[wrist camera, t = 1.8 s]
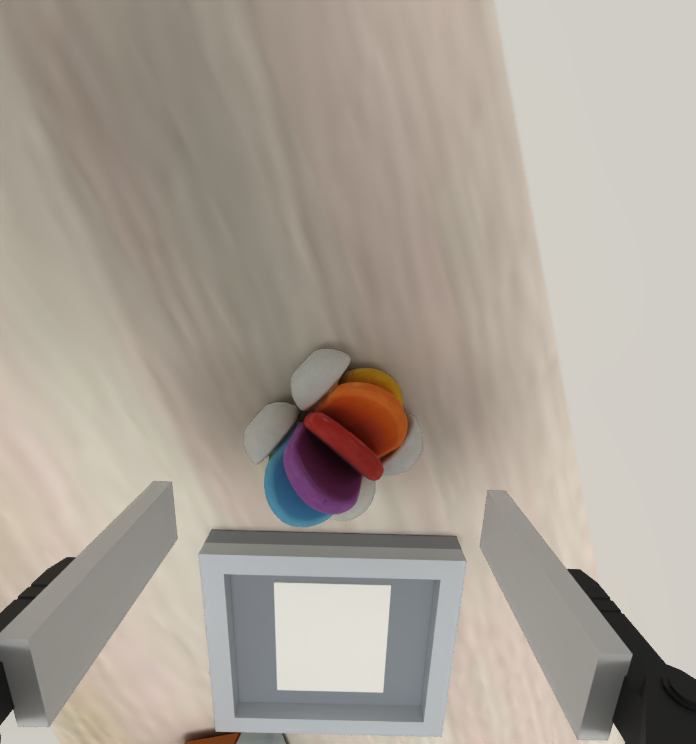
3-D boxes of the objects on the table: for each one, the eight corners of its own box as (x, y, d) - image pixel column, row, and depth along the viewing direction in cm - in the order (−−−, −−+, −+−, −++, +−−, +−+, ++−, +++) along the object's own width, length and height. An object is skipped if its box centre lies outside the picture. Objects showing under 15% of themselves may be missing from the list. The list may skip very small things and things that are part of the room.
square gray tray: (211, 530, 24) (198, 554, 22) (456, 536, 24) (466, 561, 22) (225, 697, 28) (215, 731, 26) (434, 702, 28) (441, 736, 26)
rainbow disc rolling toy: (436, 412, 22) (477, 475, 15) (334, 510, 24) (328, 606, 17) (336, 322, 21) (329, 344, 13) (236, 434, 22) (185, 504, 15)
